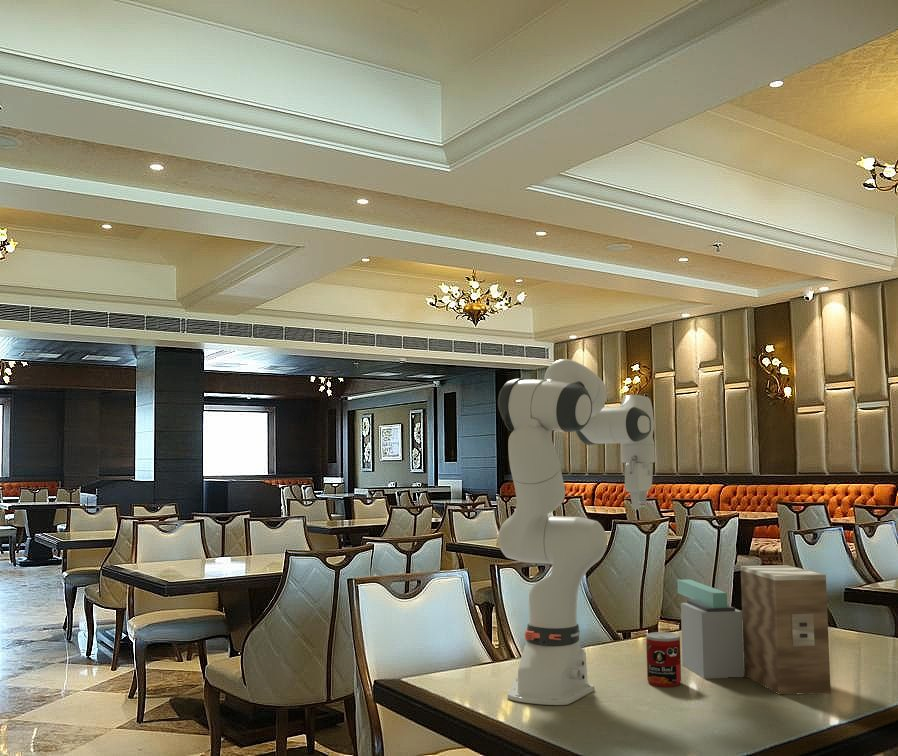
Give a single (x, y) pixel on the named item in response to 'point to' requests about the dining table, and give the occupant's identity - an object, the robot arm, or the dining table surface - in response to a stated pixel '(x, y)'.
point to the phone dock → (712, 640)
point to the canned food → (663, 659)
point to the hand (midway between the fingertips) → (639, 508)
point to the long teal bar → (702, 593)
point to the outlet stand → (785, 628)
